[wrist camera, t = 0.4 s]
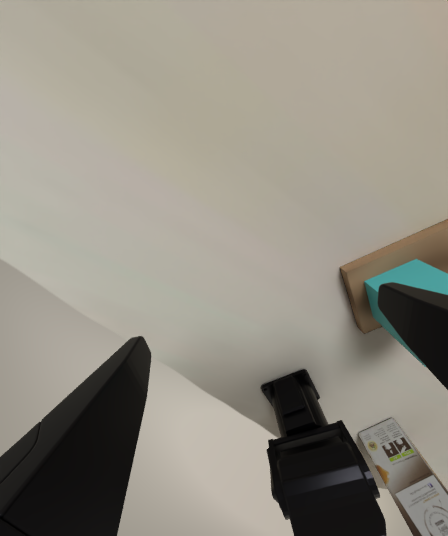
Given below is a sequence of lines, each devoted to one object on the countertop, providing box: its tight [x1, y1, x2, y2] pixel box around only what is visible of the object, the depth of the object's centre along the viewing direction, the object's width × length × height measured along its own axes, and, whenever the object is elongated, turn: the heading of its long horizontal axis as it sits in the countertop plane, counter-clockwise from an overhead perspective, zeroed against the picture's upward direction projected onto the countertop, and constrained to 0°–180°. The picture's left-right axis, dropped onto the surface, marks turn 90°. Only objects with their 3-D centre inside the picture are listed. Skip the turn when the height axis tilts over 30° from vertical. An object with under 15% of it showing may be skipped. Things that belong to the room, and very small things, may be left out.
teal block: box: [364, 259, 448, 367], centre depth 20 cm, size 5×5×7 cm
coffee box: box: [359, 418, 448, 536], centre depth 31 cm, size 9×6×16 cm
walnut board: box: [340, 219, 448, 334], centre depth 23 cm, size 9×20×1 cm, turn 117°
